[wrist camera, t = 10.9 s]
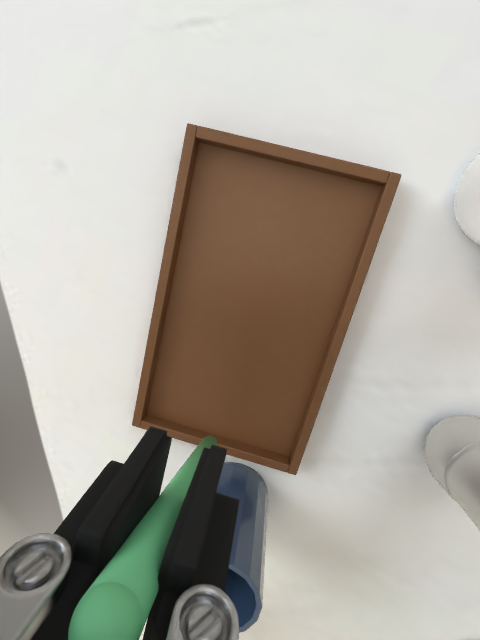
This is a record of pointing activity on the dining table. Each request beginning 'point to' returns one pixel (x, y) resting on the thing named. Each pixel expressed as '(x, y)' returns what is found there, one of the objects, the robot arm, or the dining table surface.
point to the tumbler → (246, 540)
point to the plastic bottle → (457, 460)
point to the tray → (256, 292)
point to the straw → (134, 568)
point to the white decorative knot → (469, 201)
